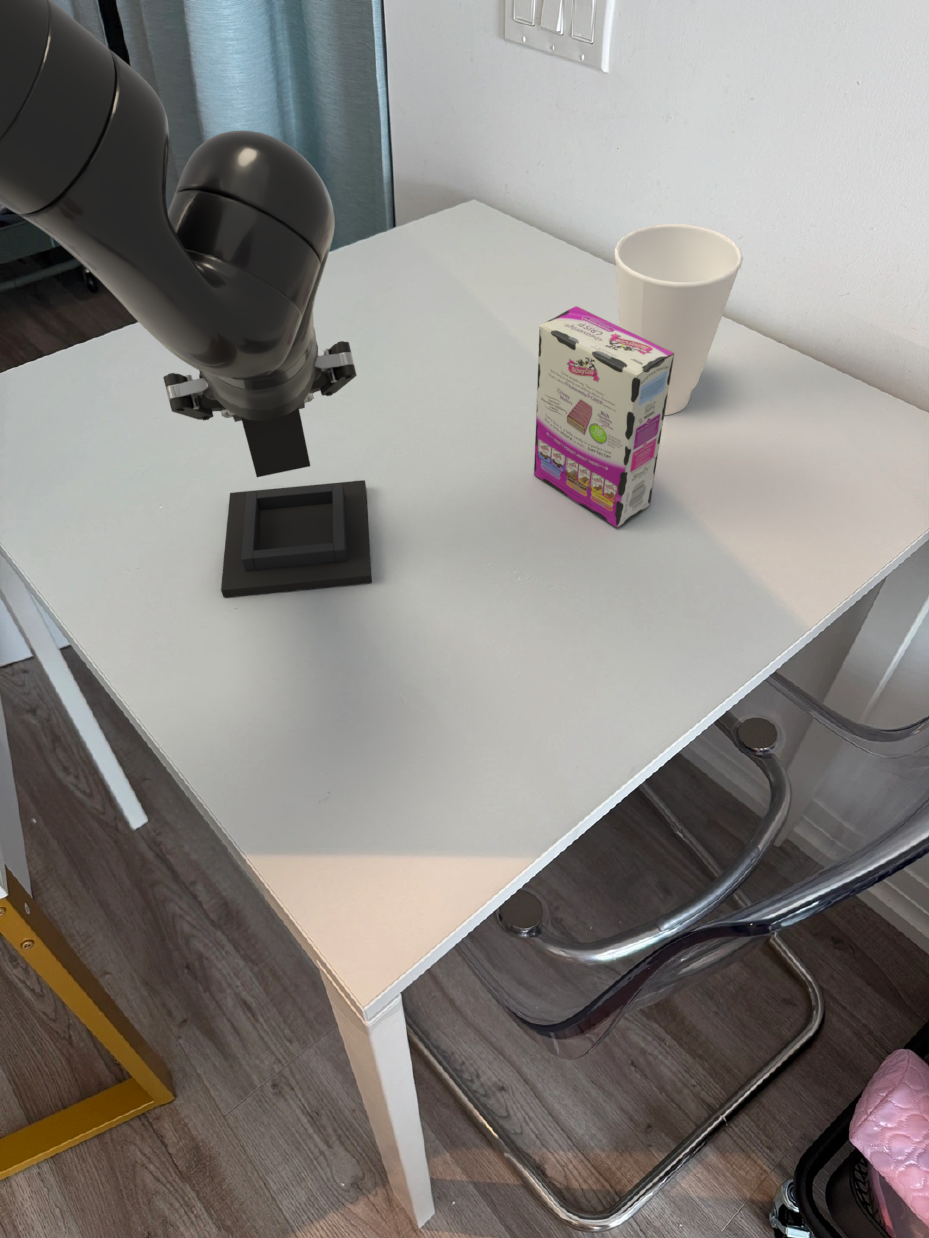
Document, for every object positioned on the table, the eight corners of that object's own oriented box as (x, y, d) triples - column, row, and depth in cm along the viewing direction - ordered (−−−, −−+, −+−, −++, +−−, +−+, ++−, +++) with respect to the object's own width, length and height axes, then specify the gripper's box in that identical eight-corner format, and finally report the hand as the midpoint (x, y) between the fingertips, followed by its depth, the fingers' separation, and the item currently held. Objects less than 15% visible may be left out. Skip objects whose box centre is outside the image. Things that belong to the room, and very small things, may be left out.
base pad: (223, 598, 79) (216, 578, 77) (231, 500, 88) (226, 480, 86) (371, 583, 80) (368, 563, 78) (366, 487, 88) (363, 467, 86)
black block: (256, 477, 75) (235, 395, 69) (249, 445, 78) (228, 364, 72) (310, 466, 75) (294, 384, 69) (301, 435, 78) (284, 353, 72)
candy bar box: (653, 505, 85) (678, 352, 73) (617, 531, 83) (638, 377, 71) (566, 452, 91) (576, 301, 79) (531, 475, 89) (536, 323, 77)
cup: (733, 390, 97) (766, 246, 85) (674, 444, 91) (700, 298, 79) (640, 353, 102) (658, 211, 90) (578, 401, 97) (589, 258, 85)
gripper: (352, 272, 59) (341, 341, 76) (128, 311, 56) (167, 374, 73) (379, 387, 59) (361, 430, 76) (158, 430, 57) (190, 465, 74)
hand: (266, 402), depth 75 cm, fingers closed on black block, 4 cm apart
